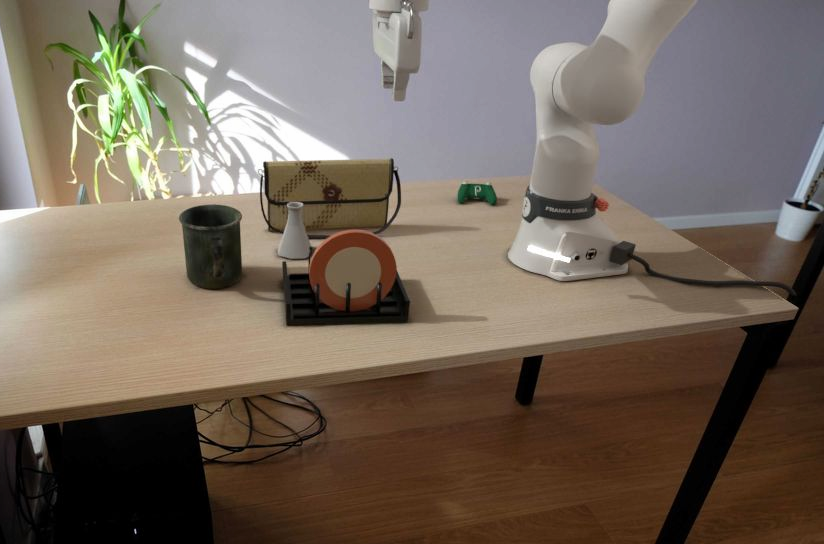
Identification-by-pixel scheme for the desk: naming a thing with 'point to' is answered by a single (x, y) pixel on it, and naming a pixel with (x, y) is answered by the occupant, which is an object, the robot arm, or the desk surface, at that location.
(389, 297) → the rack
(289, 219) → the flask
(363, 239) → the plate
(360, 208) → the clutch purse
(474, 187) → the gaming controller
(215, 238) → the mug
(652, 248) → the desk surface
